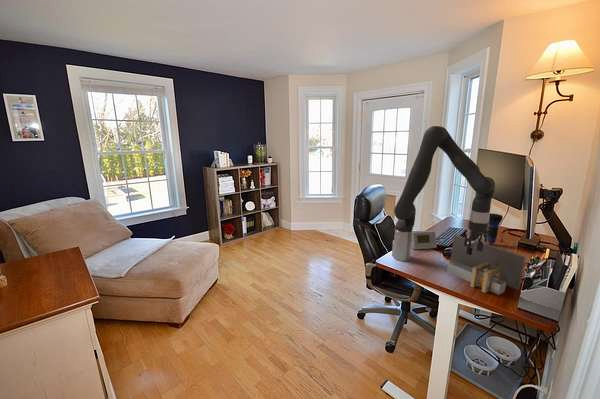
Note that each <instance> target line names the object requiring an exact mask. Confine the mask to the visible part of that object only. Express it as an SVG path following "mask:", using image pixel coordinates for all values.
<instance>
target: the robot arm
mask: <svg viewBox="0 0 600 399" xmlns="http://www.w3.org/2000/svg"><path fill="white" fill-rule="evenodd" d="M438 148H439V149H440V150H442V151H443V152H444V153H445V154H446V156H447V157H448V159H449V161H450V162H451V163H452V165H453V166H454V168H455V169H456V170H457V171H458V173H459V174H461V176H463V177H464V178H465V180H466V182H467V183H468V184H469V186H470V187H471V189H473V190H474V192H475V196H474V198H473V200H472V203H471V211H470V213H469V218H468V219H469V221H468V225H467V226H468V230H469V231H470V233H465V235H464V236H465V237H464V238H465V242H464V246H466V247H467V251H466V254H468V255H472V250H473V246H474V244H476V243H477V242H478V244H477V250H478V251H480V252H481V251H482V249H483V244H486V243H487V242H488V240H487V238H488V227H489V217H490V213H491V207H492V206H491V205H492V200H493V196H494V192H495V188H496V182H495V180H494V179H493V178H491V177H490V176H485V174H483V173H482V171H481V169H480V167H479V166H478V164H476V163H475V162H474V160H472V159H471V158H470V157H469V156H468V155H467V154H466V153H465V152H464V151H463V149H462V148H460V146H459V145H458V144H457V143H456V141H455V140H454V139H453V137H452V135H451V134H450V133H449V131H448V130H447V129H446V128H445V127H443V126H441V125H439V126H438V125H433V126H430V127H428V128H427V129H426V130H425V131H424V133H423V136H422V140H421V143H420V147H419V150H418V152H417V156H416V158H415V160H414V162H413V165H412V167H411V169H410V171H409V174H408V177H407V180H406V182H405V184H404V187H403V191H402V192H401V194H400V197H399V199H398V201H397V203H396V204H395V207H394V209H393V213H394V214H393V215H394V216H395V218H396V219H397V221H396V223H395V226H394V239H393V240H392V249H391V256H392V257H393V258H394V260H396V261H401V262H407V261H410V259H411V252H412V232H413V231H414V230H413V229H414V226H415V222H416V212H417V211H416V210H417V209H416V205H415V204H414V202H415V200H416V198H417V197H418V196H419V194H420V193H421V191H422V190H423V189H424V188H425V186H426V184H427V181H428V179H429V177H430V174H431V172H432V164H433V158H434V155H435V153H436V151H437V149H438ZM471 243H472V244H471Z"/></svg>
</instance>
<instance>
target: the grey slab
mask: <svg viewBox="0 0 600 399" xmlns="http://www.w3.org/2000/svg"><path fill="white" fill-rule="evenodd" d="M446 268H447V269H446V272H447V273H449V274H450V275H453V276H455V277H458V278H460V279H462V280H464V281H466V282H469V283H471V276H472V270H473V268H471V267H468V266H466V265H463V264H461V263H458V262H456V261H452V262H450V261H449V262H447V267H446ZM483 278H484V273H483V272H481V271H479V273H478V280H477V287H479V288H482V285H483ZM506 287H507V285H506V282H505V281H503V280H501V279H498V278H496V277H493V276H491V277H490V283H489V289H488V292H491V293H493V294H496V295H497V296H499V295H501V294H503V293H505V292H506Z"/></svg>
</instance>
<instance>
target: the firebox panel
mask: <svg viewBox="0 0 600 399" xmlns="http://www.w3.org/2000/svg"><path fill="white" fill-rule="evenodd" d="M464 242H465V237H463V236H461V235H457V234H453V238H452V245H451V247H452V248H451V252H450V253H451V254H450V261H449V262H452V261H456V262H458V263H461V264H463V265H466V266H468V267H471V268H473V267H475V266H478V265H480V264H483V263H485V262H490V263H491V266H490V270H491V269H493V268H495V267H498V266H501V267H503V269H502V275H501V280H503V281H505V282H506V287H507V286H508V287H509V288H512V289H515V290H517V291H518V290H520V288H521V283H522V278H523V271H524V268H525V267H524V266H525V263H526V256H525V255H522V254H518V253H515V252H512V251H508V250H505V249H501V248H499V247H496V246H493V245H490V244H486V243H484V244H483V249H482V251H481V252H480V251H478V250H477V244H478V241H477V243H476V244H474V246H473V250H472V255H468V254H466V251H467V247H466V246H464ZM471 244H472V243H471ZM481 272H483V270H481ZM492 276H493V277H495V275H492Z"/></svg>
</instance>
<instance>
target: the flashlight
mask: <svg viewBox="0 0 600 399" xmlns="http://www.w3.org/2000/svg"><path fill="white" fill-rule="evenodd" d="M502 221H503V214H502V215H501V214H498V213H491V212H490V217H489V224H488V230H487V231H488V236H487V242H488V245H490V246H493V244H494V243H496V241H497V237H498V232H499V226H500V225H501V223H502Z"/></svg>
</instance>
